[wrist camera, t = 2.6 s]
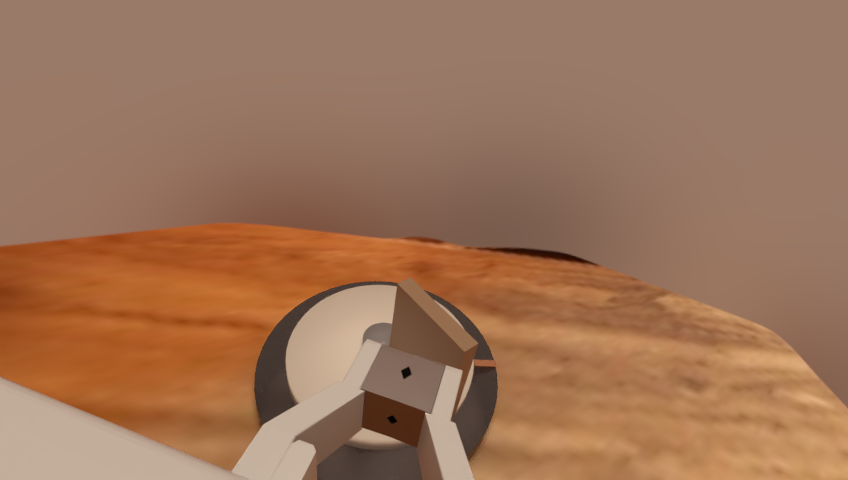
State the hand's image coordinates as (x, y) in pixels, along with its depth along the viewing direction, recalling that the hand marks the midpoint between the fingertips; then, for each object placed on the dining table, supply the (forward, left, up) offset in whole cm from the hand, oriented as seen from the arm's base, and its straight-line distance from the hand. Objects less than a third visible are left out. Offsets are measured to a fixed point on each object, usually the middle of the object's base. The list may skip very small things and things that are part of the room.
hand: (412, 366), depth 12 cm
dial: (-5, +14, -19) cm, 24 cm away
